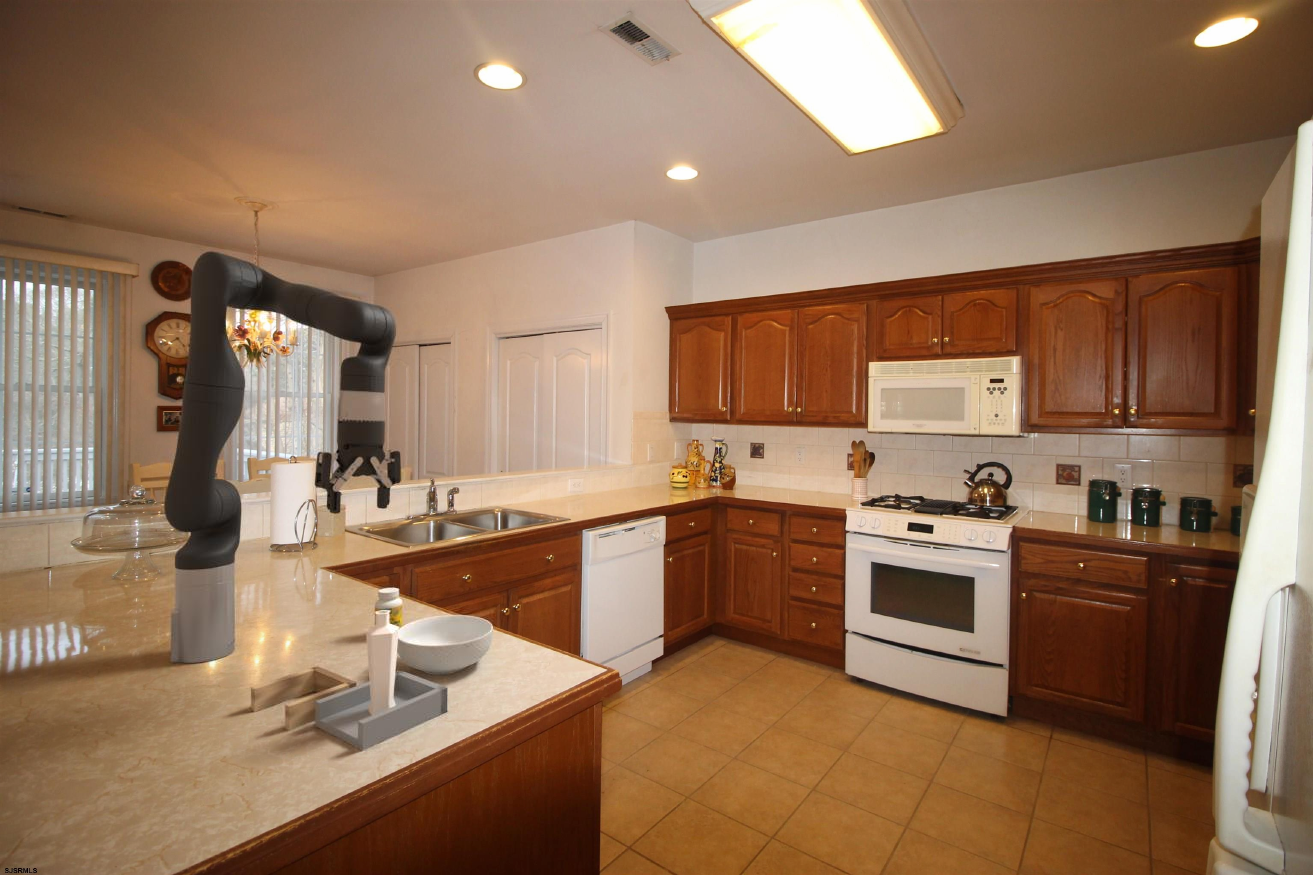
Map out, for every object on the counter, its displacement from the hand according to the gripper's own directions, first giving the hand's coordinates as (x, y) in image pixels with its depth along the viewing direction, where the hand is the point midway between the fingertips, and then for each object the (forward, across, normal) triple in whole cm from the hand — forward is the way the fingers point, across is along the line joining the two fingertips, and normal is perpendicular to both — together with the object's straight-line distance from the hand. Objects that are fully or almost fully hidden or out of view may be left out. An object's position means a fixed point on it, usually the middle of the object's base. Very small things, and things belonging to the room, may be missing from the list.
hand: (359, 510), depth 109 cm
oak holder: (+29, +12, +5) cm, 32 cm away
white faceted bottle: (+28, +6, +18) cm, 34 cm away
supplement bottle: (+30, -15, -14) cm, 36 cm away
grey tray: (+29, +6, +19) cm, 35 cm away
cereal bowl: (+29, -12, +9) cm, 33 cm away
